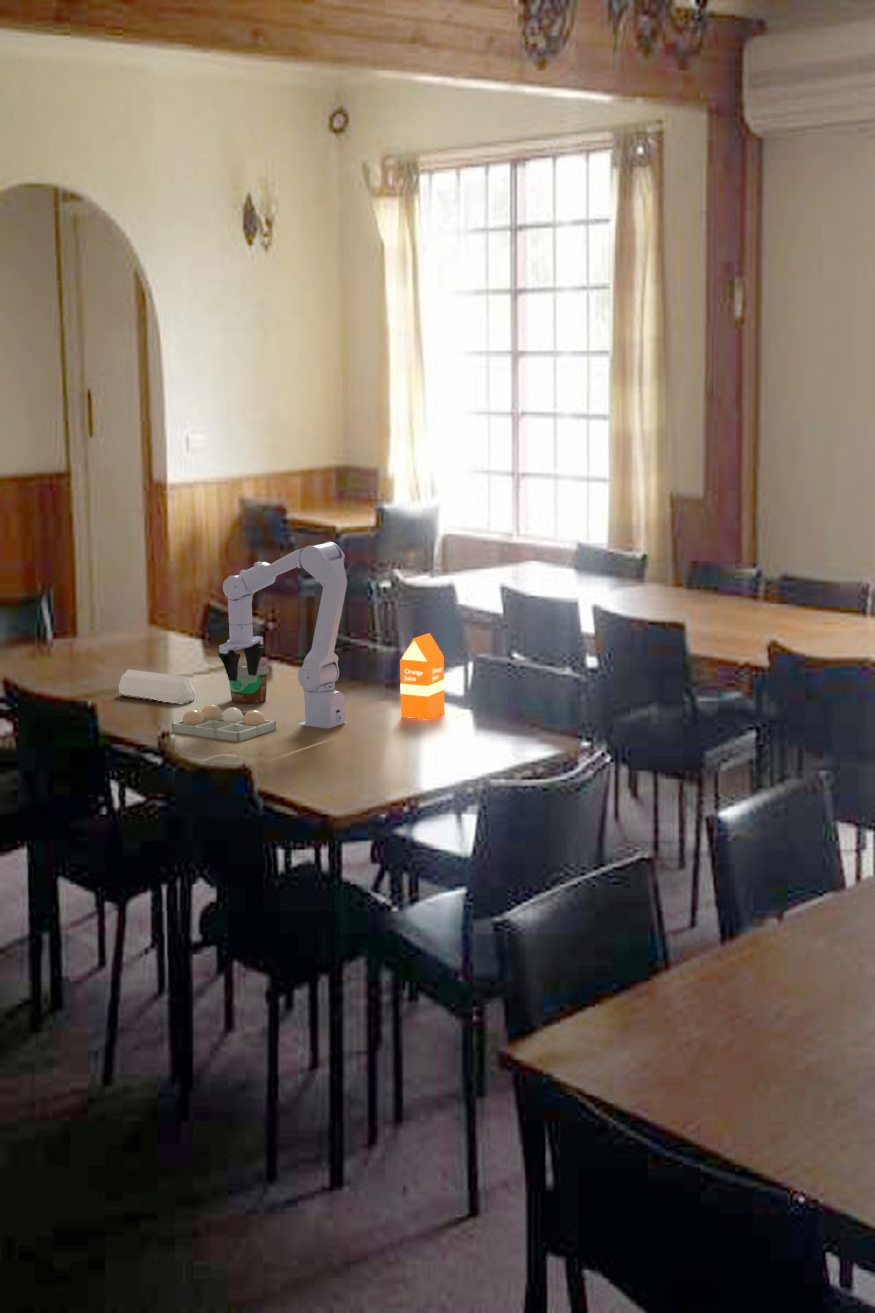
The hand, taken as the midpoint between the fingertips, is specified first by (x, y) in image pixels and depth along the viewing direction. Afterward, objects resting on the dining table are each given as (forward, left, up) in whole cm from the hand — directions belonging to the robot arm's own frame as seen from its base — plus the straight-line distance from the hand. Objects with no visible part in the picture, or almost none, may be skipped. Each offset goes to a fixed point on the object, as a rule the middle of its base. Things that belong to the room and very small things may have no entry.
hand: (242, 677), depth 406 cm
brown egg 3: (-14, +13, -9) cm, 21 cm away
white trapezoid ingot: (+34, -6, -10) cm, 36 cm away
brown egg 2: (0, +13, -9) cm, 16 cm away
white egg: (-7, +13, -9) cm, 17 cm away
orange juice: (-38, -23, -10) cm, 46 cm away
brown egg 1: (0, +19, -9) cm, 21 cm away
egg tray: (-7, +16, -10) cm, 20 cm away
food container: (+10, -12, -10) cm, 19 cm away
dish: (-2, +3, -10) cm, 11 cm away
